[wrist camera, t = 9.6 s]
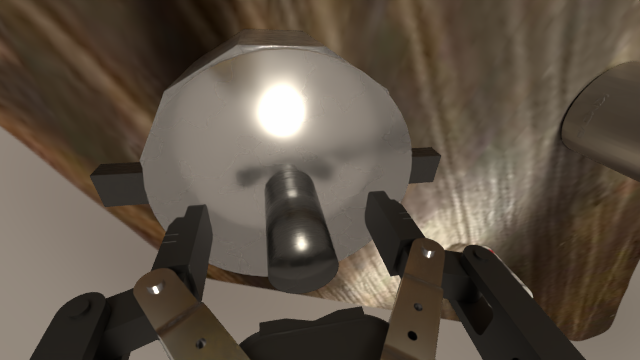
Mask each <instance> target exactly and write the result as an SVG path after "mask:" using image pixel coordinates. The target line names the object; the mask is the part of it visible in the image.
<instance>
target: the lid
mask: <svg viewBox="0 0 640 360" xmlns="http://www.w3.org/2000/svg"><path fill="white" fill-rule="evenodd" d="M411 166H412V150H411V140H410V137H409V133H408V129H407V126H406V123H405V121H404V119H403V116H402V114H401V112H400V110H399V109H398V107H397V106H396V104H395V103H394V101H393V100H392V98H391V97H390V96H389V95H388V94H387V92H386V91H385V90H384V89H383V88H382V87H381V86H380V85H379V84H378V83H377V82H375V81H374V80H373V79H372V78H370V77H369V76H368V75H367V74H365V73H364V72H362V71H361V70H359V69H358V68H356V67H354V66H352V65H351V64H349V63H347V62H346V61H344V60H341V59H339V58H336V57H334V56H331V55H329V54H326V53H322V52H318V51H314V50H310V49H305V48H293V47H271V48H260V49H255V50H250V51H245V52H241V53H238V54H235V55H233V56H230V57H227V58H224V59H222V60H220V61H218V62H216V63H214V64H212V65H210V66H208V67H207V68H205V69H203V70H201V71H200V72H199V73H197V74H196V75H195V76H193V77H192V78H191V79H190V80H188V81H187V82H186V83H185V84H184V85H183V86H182V87H181V88H180V89H179V90H178V91H177V92H176V93H175V94H174V95H173V96H172V97H171V99H170V100H169V101H168V102H167V103H166V105H165V106H164V108H163V109H162V111H161V112H160V114H159V115H158V117H157V118H156V120H155V122H154V124H153V127H152V129H151V131H150V133H149V135H148V139H147V143H146V147H145V151H144V158H143V178H144V187H145V191H146V194H147V198H148V201H149V204H150V206H151V208H152V210H153V212H154V214H155V216H156V218H157V219H158V221H159V222H160V224H161V225H162V227H163V228H164V230H165V231H167V228H168V226H169V225H170V224H171V223H172V222H173V221H174V220H175V219H176V218H177V217H184V216H185V213H186V210H187V207H188V206H190V205H202V204H206V206H207V209H208V213H209V217H210V222H211V226H212V232H213V241H212V247H211V252H210V258H209V264H211V265H214V266H216V267H219V268H222V269H224V270H228V271H232V272H235V273H240V274H246V275H253V276H268V279H269V281H270V283H271V284H272V285H273V286H274V287H275V288H276V289H278V290H280V291H283V292H286V293H293V294H300V293H307V292H311V291H314V290H317V289H319V288H321V287H323V286H324V285H326V284H327V283H329V282H330V281H331V280H332V279H333V278H334V276H335V275H336V273H337V271H338V267H339V263H338V261H340V260H343V259H344V258H346V257H348V256H350V255H352V254H353V253H355V252H356V251H358V250H359V249H361V248H362V247H364V246H365V245H366V244H367V243H369V242H370V241H371V240H372V237H371V235H370V233H369V231H368V229H367V227H366V224H365V218H364V215H365V209H366V203H367V197H368V193H369V192H371V191H385V192H386V194H387V195H388V197H389V198H390V199H395V200H396V201H397V202H399V203H400V204H401V201H402V199H403V197H404V195H405V192H406V189H407V186H408V183H409V179H410V173H411Z"/></svg>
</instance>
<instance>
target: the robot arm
mask: <svg viewBox="0 0 640 360" xmlns="http://www.w3.org/2000/svg"><path fill="white" fill-rule="evenodd" d="M562 140H563V143H564V144H565V146H566V147H568V148H569V149H571V150H573V151H575V152H577V153H579V154H582V155H584V156H586V157H588V158H590V159H592V160H594V161H596V162H599V163H601V164H603V165H605V166H607V167H609V168H611V169H613V170H615V171H617V172H619V173H621V174H623V175H626V176H628V177H630V178H632V179H634V180H636V181H638V182H640V62H627V63H623V64H620V65H618V66H616V67H613V68H611V69H610V70H608V71H607V72H605V73H603V74H602V75H600V76H599V77H598V78H597V79H595V80H594V81H593V82H592V83H591V84H590V85H589V86H588V87H587V88H586V89H585V90H584V91H583V92H582V93H581V94H580V95H579V96H578V98H577V99H576V100H575V101H574V103H573V105H572V106H571V108H570V109H569V111H568V113H567V115H566V117H565V120H564V123H563V127H562ZM364 218H365V224H366V227H367V229H368V231H369V233H370V235H371V237H372V239H373V241H374V243H375V245H376V247H377V249H378V251H379V254H380V256H381V258H382V260H383V262H384V264H385V266H386V268H387V270H388V272H389V274H390V276H396V275H399V276H400V278H401V281H400V284H399V288H398V291H397V295H396V298H395V302H394V305H393V309H392V312H391V316H390V319H389V322H386V321H384V320H382V319H380V318H378V317H375V316H371V315H366V314H364V312H363V309H362V307H355V308H349V309H342V310H337V311H335V312H333V313H331V314H328V315H326V316H324V317H322V318H319V319H317V320H315V321H306V320H296V319H280V320H274V321H268V322H261V323H260V331H259V332H257V333H255V334H253V335H251V336H250V337H248V338H247V339H245V340H244V341H243V342H241V343H240V344H239V345H238V344H237V343H236V341H235V340H234V339H233V338H232V336H231V335H230V334H229V333H228V332H227V331H226V329H225V328H224V327H223V325H222V324H221V323H220V322H219V321H218V319H217V318H216V317H215V316H214V314H213V313H212V312H211V311H210V309H209V308H208V307H207V306H206V305H205V304H204V303H203V302H201V301H202V296H203V290H204V285H205V279H206V274H207V269H208V263H209V258H210V252H211V247H212V241H213V232H212V226H211V222H210V217H209V213H208V209H207V206H206V204H202V205H190V206H188V207H187V210H186V213H185V216H184V217H177V218H176V219H175V220H174V221H173V222H172V223H171V224H170V225H169V226H168V228H167V231H166V234H165V236H164V239H163V241H162V244H161V246H160V249H159V251H158V254H157V257H156V259H155V262H154V264H153V267H152V269H151V271H150V272H149V273H147V274H145V275H144V276H143V277H141V278H140V279H139V280H138V281H137V283H136V284H135V286H134V288H132V289H130V290H128V291H125V292H123V293H120V294H117V295H114V296H111V297H109V298H105V297H104V296H103V295H102V294H101V293H98V292H90V293H85V294H83V295H80V296H77V297H75V298H73V299H72V300H70V301H69V302H67V303H66V304H65V305H63V306H62V307H61V308H60V309H59V310H58V312H57V313H56V314H55V316H54V318H53V319H52V321H51V323H50V325H49V327H48V328H47V330H46V332H45V333H44V335H43V337H42V339H41V340H40V342H39V344H38V346H37V348H36V349H35V351H34V353H33V354H32V356H31V358H30V360H128V359H129V356H130V352H131V351H133V350H136V349H138V348H140V347H142V346H144V345H146V344H149V343H151V342H153V341H155V340H158V341H159V343H160V344H161V346H162V348H163V349H164V351H165V353H166V354H167V356H168V358H169V359H170V360H435V357H436V348H437V340H438V333H439V324H440V316H441V308H442V300H443V298H446V299H448V300H449V302H450V303H451V305H452V307H453V309H454V310H455V312H456V314H457V316H458V317H459V319H460V321H461V322H462V324H463V326H464V328H465V329H466V331H467V333H468V335H469V336H470V338H471V340H472V342H473V343H474V345H475V347H476V348H477V350H478V352H479V354H480V355H481V357H482V359H483V360H586V359H585V358H584V357H583V356H582V355H581V354H580V352H579V351H578V350H577V349H576V348H575V347H574V345H573V344H572V343H571V342H570V341H569V340H568V338H567V337H566V336H565V335H564V334H563V333H562V332H561V330H560V329H559V328H558V327H557V326H556V325H555V323H554V322H553V321H552V320H551V319H550V318H549V316H548V315H547V314H546V313H545V312H544V311H543V310H542V308H541V307H540V306H539V305H538V304H537V303H536V301H535V300H534V299H533V298H532V297H531V296H530V294H529V293H528V292H527V291H526V290H525V289H524V288H523V286H522V285H521V284H520V283H519V282H518V281H517V279H516V278H515V277H514V276H513V275H512V274H511V272H510V271H509V270H508V269H507V268H506V267H505V266H504V264H503V263H502V262H501V261H500V260H499V259H498V257H497V256H496V255H495V254H494V253H493V252H491V251H490V250H488V249H487V248H484V247H482V246H478V245H469V246H467V247H465V249H464V251H463V253H461V252H454V251H447V250H444V249H443V247H442V246H441V245H440V244H439V243H437V242H436V241H434V240H431V239H428V238H425V236H424V235H423V233H422V232H421V231H420V229H419V228H418V226H417V225H416V224H415V222H414V221H413V219H411V217H410V215H409V214H408V213H407V211H406V210H405V208H404V207H403V205H402V204H400V203H399V202H397V201H396V200H395V199H390V198H389V197H388V195H387V194H386V192H385V191H371V192H369V193H368V197H367V203H366V209H365V215H364ZM483 296H484V297H483ZM485 299H486V300H487V301H486V300H485ZM200 302H201V303H200ZM487 302H488V303H489V304H488V303H487ZM490 306H491V307H490Z"/></svg>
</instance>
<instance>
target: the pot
mask: <svg viewBox="0 0 640 360" xmlns="http://www.w3.org/2000/svg"><path fill="white" fill-rule="evenodd" d="M271 47H293V48H305V49H310V50H314V51H318V52H322V53H326V54H329V55H331V56H334V57H336V58H339V59H341V60H344V59H343V58H341V57H340V56H338V55H337V54H336V53H334V52H333V51H331V50H330V49H328V48H327V47H326V46H324V45H323V44H321V43H320V42H318V41H317V40H315V39H314V38H312V37H311V36H309V35H308V34H306V33H305V32H303V31H291V30H259V29H244V30H242V31H240V32H239V33H237V34H236V35H234V36H233V37H231V38H230V39H228V40H226V41H225V42H223V43H222V44H220V45H219V46H217V47H216V48H214V49H213V50H211V51H209V52H208V53H206V54H205V55H203V56H202V57H200V58H199V59H197V60H196V61H195V62H194V63H193V64H192V65H191V66H190V67H189V68H188V69H187V70H186V71H184V72H183V73H182V74H181V75H180V76H179V77H178V78H177V79H176V80H175V81H174V82H173V83H172V84H171V85H170V86H169V87H168V88H167V89H166V90H165V91H164V94H163V96H162V99H161V102H160V105H159V108H158V111H157V113H156V116H155V119H154V122H155V120H156V118H157V117H158V115H159V114H160V112H161V111H162V109H163V108H164V106H165V105H166V103H167V102H168V101H169V100H170V99H171V97H172V96H173V95H174V94H175V93H176V92H177V91H178V90H179V89H180V88H181V87H182V86H183V85H184V84H185V83H186V82H187V81H188V80H190V79H191V78H192V77H193V76H195V75H196V74H197V73H199V72H200V71H201V70H203V69H205V68H207V67H208V66H210V65H212V64H214V63H216V62H218V61H220V60H222V59H224V58H227V57H230V56H233V55H235V54H238V53H241V52H245V51H250V50H255V49H260V48H271ZM344 61H346V60H344ZM346 62H347V61H346ZM347 63H348V62H347ZM349 64H350V63H349ZM352 66H353V65H352ZM375 82H376V81H375ZM378 84H379V83H378ZM379 85H380V84H379ZM380 86H381V87H382V88H383V89H384V90H385V91H386V92H387V94H388V95H389V92H388V89H386V88H385V87H383V86H382V85H380ZM389 96H390V95H389ZM154 122H153V124H154ZM152 127H153V125H152ZM151 129H152V128H151ZM150 131H151V130H150ZM146 143H147V142H146ZM145 147H146V145H145ZM145 147H144V150H143V153H142V156H141V159H140V162H135V163H115V164H101V165H100V166H99V167H98V168H97V169H96V170H95V171H94V172H93V173H92V174H91V175H90V178H91V180H92V182H93V184H94V186H95V188H96V190H97V192H98V194H99V196H100V198H101V200H102V202H103V204H104V206H105V207H110V206H123V205H136V204H149V201H148V198H147V194H146V191H145V187H144V178H143V158H144V151H145ZM411 150H412V166H411V173H410V179H409V183H408V184H410V183H423V182H433V180H434V177H435V174H436V170H437V167H438V164H439V161H440V158H441V155H440V154H439V153H437V152H436V151H435V150H434V149H433V148H432V147H428V148H411Z"/></svg>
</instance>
